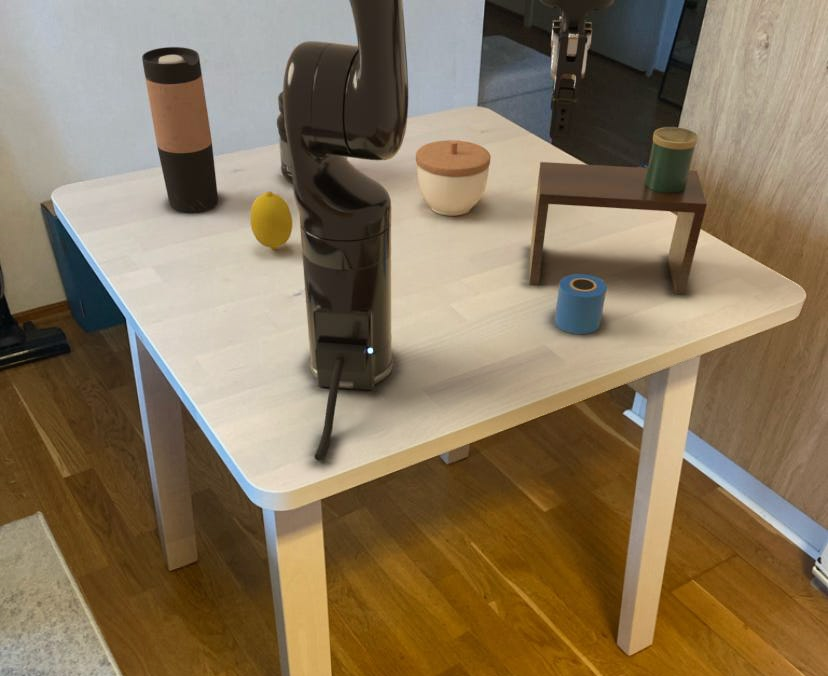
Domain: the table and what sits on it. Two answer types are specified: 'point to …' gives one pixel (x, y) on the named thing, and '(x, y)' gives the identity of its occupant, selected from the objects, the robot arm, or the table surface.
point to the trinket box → (452, 175)
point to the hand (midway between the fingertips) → (559, 124)
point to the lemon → (271, 220)
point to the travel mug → (181, 127)
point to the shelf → (619, 192)
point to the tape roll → (580, 303)
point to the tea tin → (670, 159)
